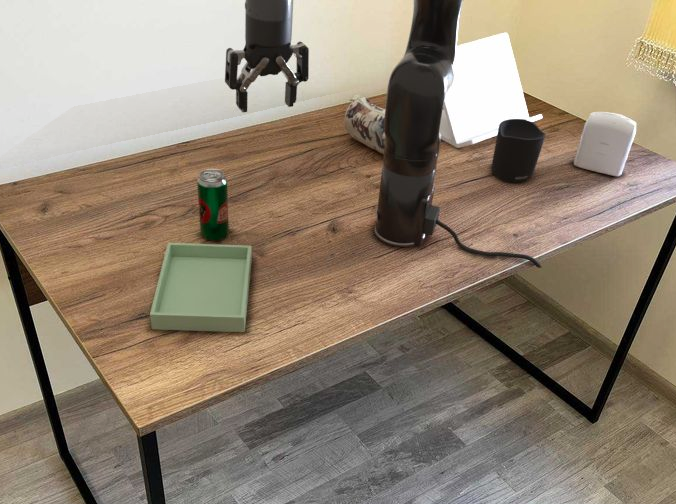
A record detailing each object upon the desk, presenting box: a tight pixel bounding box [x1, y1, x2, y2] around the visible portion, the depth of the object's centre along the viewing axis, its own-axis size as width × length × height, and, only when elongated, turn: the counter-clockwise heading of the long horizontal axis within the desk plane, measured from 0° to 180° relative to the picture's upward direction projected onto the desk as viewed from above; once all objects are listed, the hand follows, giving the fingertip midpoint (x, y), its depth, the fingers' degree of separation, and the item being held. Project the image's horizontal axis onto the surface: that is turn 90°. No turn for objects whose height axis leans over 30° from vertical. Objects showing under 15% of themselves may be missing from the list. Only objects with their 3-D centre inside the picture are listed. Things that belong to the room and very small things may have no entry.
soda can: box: [196, 168, 230, 242], centre depth 130 cm, size 5×5×12 cm
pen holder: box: [491, 119, 547, 184], centre depth 153 cm, size 9×9×10 cm
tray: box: [149, 242, 253, 333], centre depth 120 cm, size 19×14×3 cm
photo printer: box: [573, 111, 637, 177], centre depth 156 cm, size 10×4×12 cm, turn 63°
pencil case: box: [344, 93, 386, 155], centre depth 157 cm, size 22×8×10 cm, turn 43°
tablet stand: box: [439, 32, 543, 149], centre depth 167 cm, size 18×25×17 cm
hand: (266, 107), depth 129 cm, fingers open, 8 cm apart
